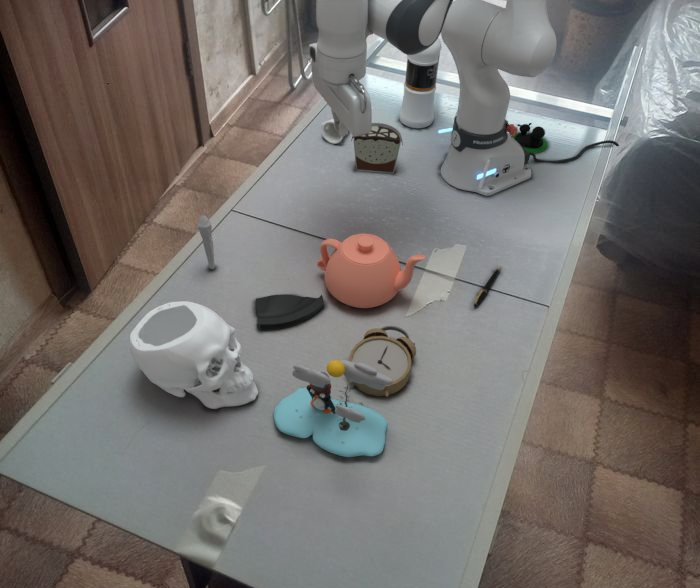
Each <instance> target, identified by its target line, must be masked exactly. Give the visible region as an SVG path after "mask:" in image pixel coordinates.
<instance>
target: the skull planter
mask: <svg viewBox="0 0 700 588" xmlns="http://www.w3.org/2000/svg"><path fill="white" fill-rule="evenodd" d="M235 334H236V329H235V328H234V327H233V326H231V325H229V324H228V323H227V322H226V321H225V320H224V319H223V317H221V316H220V315H219V314H217V313H216V312H215V311H214V310H212V309H210V308H209V307H207V306H205V305H202V304H200V303H197V302H192V301H187V300H186V301H185V300H184V301H182V300H181V301H171V302H167V303H164V304H162V305H159V306H157V307H155V308H153V309H151V310H150V311H148V312H147V313H146V314H145V315H144V317H143V318H141V320H139V322H138V323H137V324H136V326H135V327H134V328H133V329H132V331H131V332H130V335H129V351H130V355H131V357H132V358H133V360H134V362H135V364H136V365H137V366H138V368H139V369H140V370H141V371H142V372H143V374H144V375H145V376H146V378H147V379H148V380H149V382H151V383H153V384H154V385H156V386H157V387H159V388H160V389H162V390H163V391H165V392H166V393H168V394H171V395H173V396H175V397H176V398H185V396H186V395H187V394H186V393H190V394H191V395H193V396H194V397H196V398H197V399H199V401H200V402H201V403H202V404H203V405H204V406H205V407H206V408H207V409H211V410H217V409H220V408H224V407H225V408H227V407H238V406H242V405H246V404H248V403H250V402H253V401H255V400H256V398H257V396H258V395H259V390H258V387H257V385H256V382H255V381H254V379H255V376H254V374H253V371H252V370H251V369H250V367H248V366H247V365H245V364H244V363H243V362H242V356H243V354H244V353H243V352H244V351H243V347H242V345H241V343H240V342H239V341H238V340H237V338H236V335H235ZM215 367H216V369H215V370H214V369H213V368H215ZM200 382H201V384H199V383H200ZM198 384H199V385H198ZM196 385H197V386H196ZM218 389H219V391H216V390H218ZM185 391H186V392H185ZM214 391H216V392H214Z"/></svg>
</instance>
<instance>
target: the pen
mask: <svg viewBox="0 0 700 588" xmlns="http://www.w3.org/2000/svg"><path fill="white" fill-rule="evenodd" d="M197 227H198V228H197V229H198V231H199V235H200V237H201V239H202V244H203V248H204V251H205V256H206V259H207V260H206V261H207V264H208V267H209V269H210V270H214V269H215V268H216V264H215V253H214V252H215V251H214V240H213V235H212V231H213V230H212V222H211V220H210V219H209V218H208V217H207V216H206V215H205V214H202V215H201V216H200V217H199V219H198V221H197Z"/></svg>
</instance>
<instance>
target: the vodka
mask: <svg viewBox="0 0 700 588" xmlns="http://www.w3.org/2000/svg"><path fill="white" fill-rule="evenodd" d="M442 47H443V45H442V41H441V39H440V38H439V37H438V39H437V40H436V41H435V43H434V44H433V45H432V46H430V47H429V48H428V49H426V50H424V51H422V52H420V53H417V54H414V55H407V54H406V59H407V60H406V70H405V81H404V83H403V96H402V102H401V106H400V109H399V115H398V117H399V120H400V122H401V123H402V124H403V125H404V126H406V127H408V128H412V129H424V128H428V126H431V124H432V123H433V122H434V119H435V118H434V117H435V111H434V110H435V109H434V105H435V95H436V90H437V79H438V70H439V63H440V57H441V51H442Z"/></svg>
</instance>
